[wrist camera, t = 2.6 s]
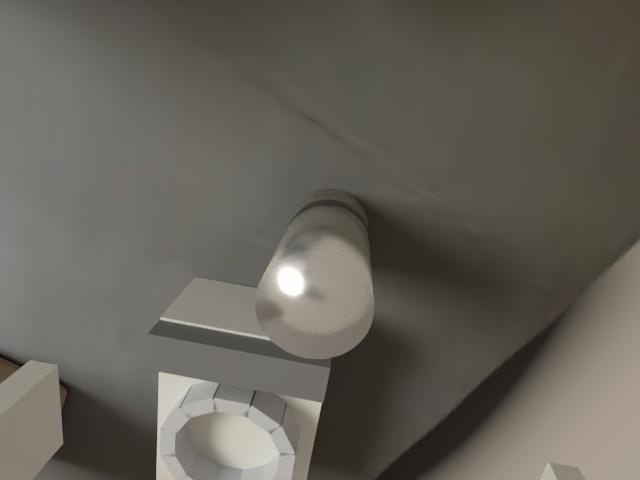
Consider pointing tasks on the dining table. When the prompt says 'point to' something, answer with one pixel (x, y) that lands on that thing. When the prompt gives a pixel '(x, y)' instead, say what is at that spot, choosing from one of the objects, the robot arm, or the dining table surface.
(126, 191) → the dining table surface
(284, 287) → the grey tall rounded cylinder
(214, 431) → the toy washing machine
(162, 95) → the dining table surface
